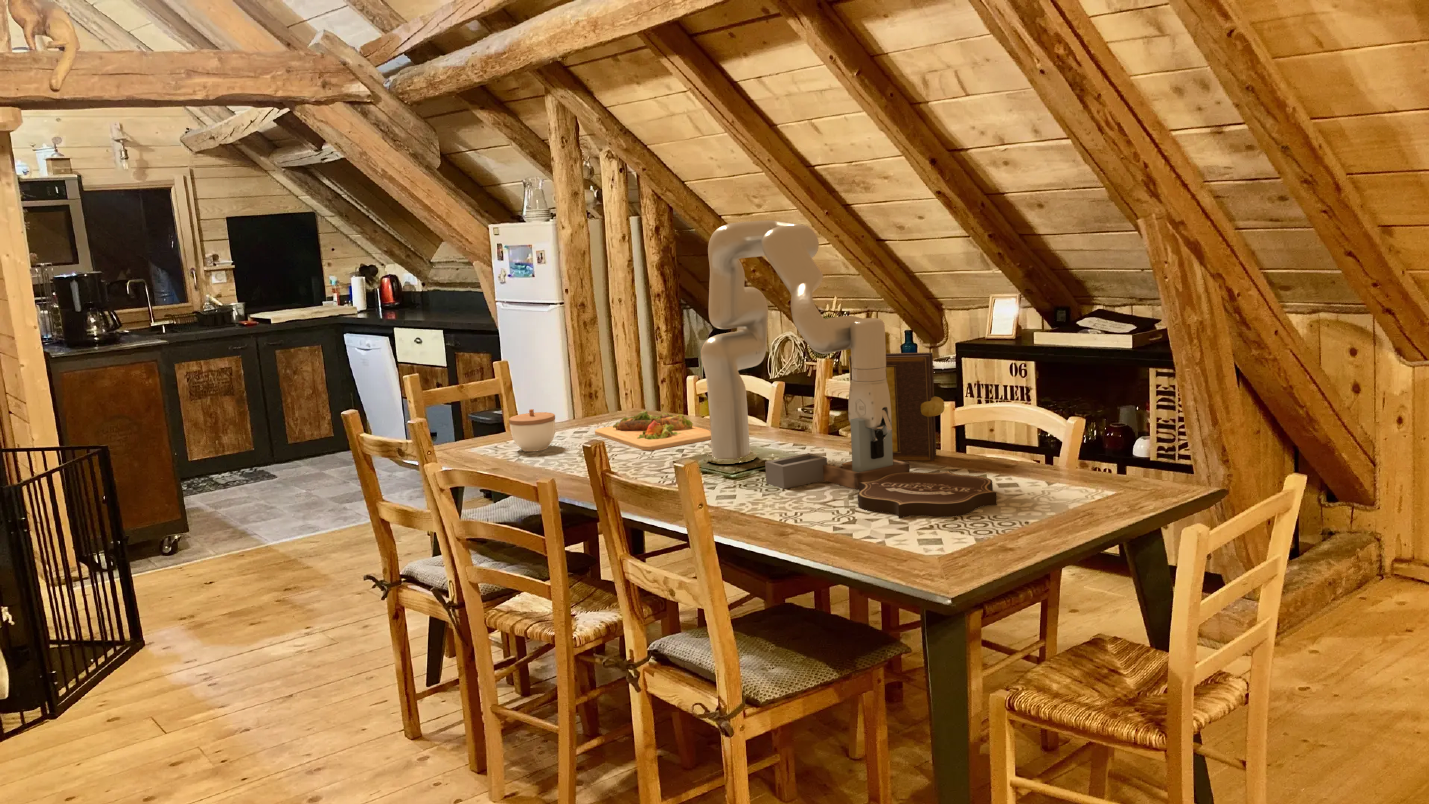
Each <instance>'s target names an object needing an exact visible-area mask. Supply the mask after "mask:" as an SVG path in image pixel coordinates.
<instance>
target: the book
mask: <svg viewBox="0 0 1429 804" xmlns="http://www.w3.org/2000/svg"><path fill="white" fill-rule="evenodd" d="M933 358H934V356H933V352H893V353H891V352H889V353H888V352H886V373H887V381H886V382H887V384H888V389H889V395H890V403H891V423H892V452H893V459H894V460H898V461H902V462H906V461H907V462H909V461H910V462H912V461H913V462H932V461H934V457H937V444H936V443H937V439H936V438H937V437H936V417H937V416H940V415H941V414H943V413H945V412H944V411H945V401H944V399H942V398H941V397H939V396H935V387H934V386H935V385H934V384H935V383H934V379H935V378H934V362H933V361H934V359H933ZM848 366H849V370H848V371H849V384H850V383H851V380H852V362H851V355H850V356H848Z"/></svg>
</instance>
